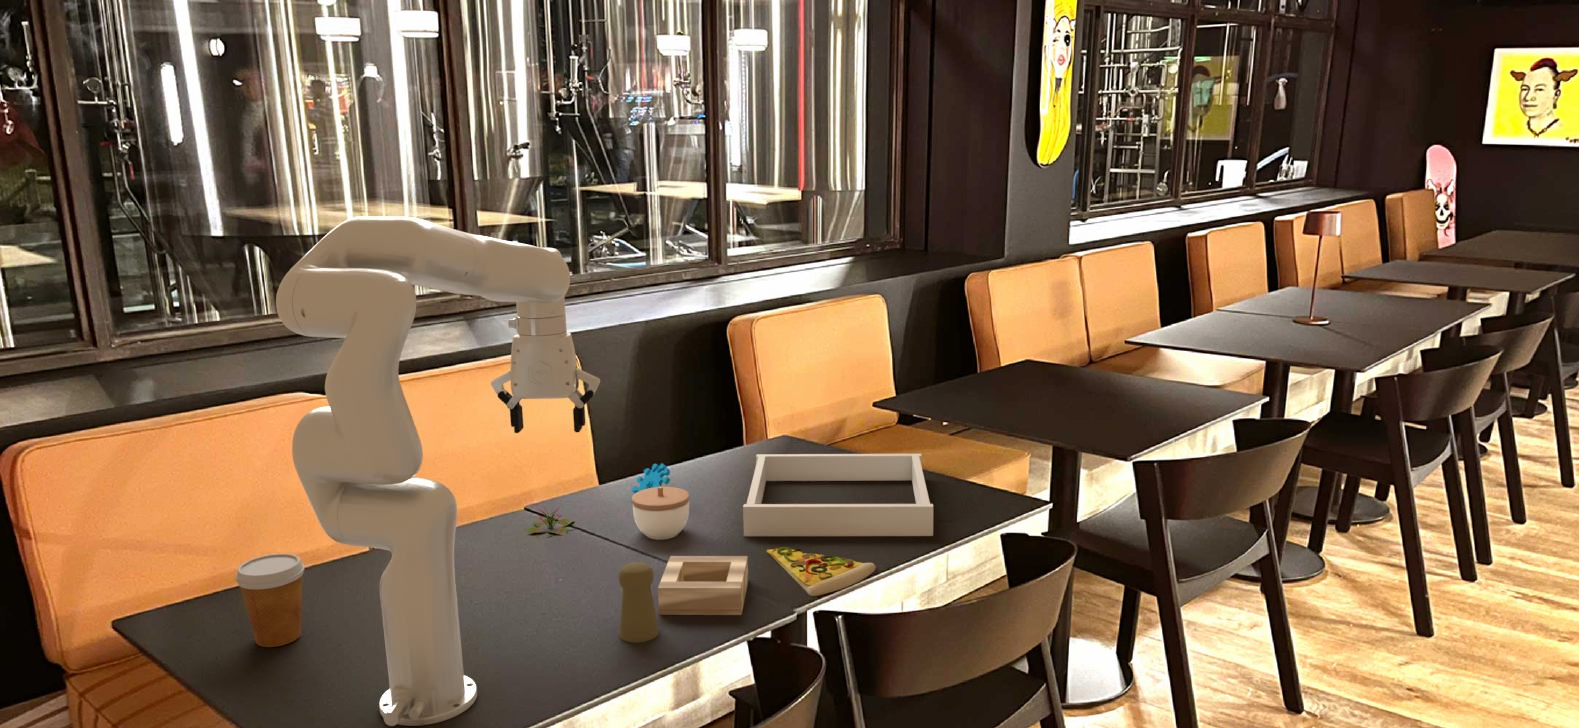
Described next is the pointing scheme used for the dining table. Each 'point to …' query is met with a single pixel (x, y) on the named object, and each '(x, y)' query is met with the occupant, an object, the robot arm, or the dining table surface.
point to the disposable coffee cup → (273, 597)
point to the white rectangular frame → (838, 516)
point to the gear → (652, 478)
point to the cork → (637, 604)
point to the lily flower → (550, 524)
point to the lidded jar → (661, 511)
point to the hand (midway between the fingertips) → (548, 430)
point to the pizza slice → (820, 570)
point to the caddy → (703, 585)
